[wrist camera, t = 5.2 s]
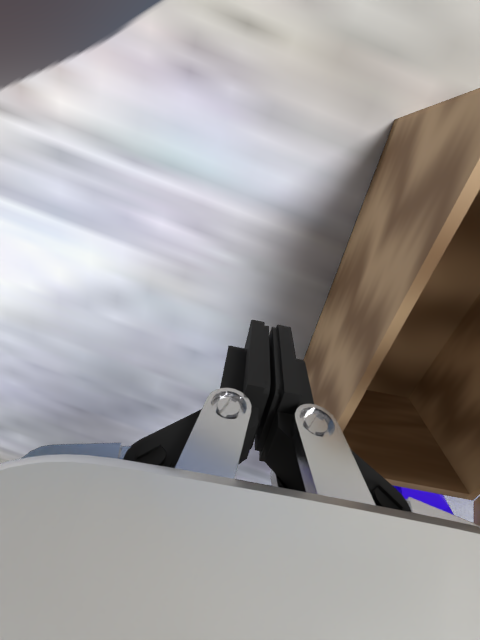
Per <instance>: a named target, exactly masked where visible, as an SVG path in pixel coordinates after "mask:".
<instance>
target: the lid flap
mask: <svg viewBox="0 0 480 640" xmlns="http://www.w3.org/2000/svg"><path fill="white" fill-rule="evenodd" d="M474 524H476V525H478V526H480V497H479V498H477V499H476V500H475V501H474Z"/></svg>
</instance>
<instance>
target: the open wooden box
mask: <svg viewBox="0 0 480 640" xmlns="http://www.w3.org/2000/svg"><path fill="white" fill-rule="evenodd" d="M304 361H305V364H306V368H307V373H308V378H309V382H310V387H311V391H312V396H313V401H314V405H318V406H320V407H323V408H324V409H326V410H327V411H329V412H330V413H331V414H332V415H333V416H334V417H335V419H336V420H337V422H338V424H339V426H340V428H341V430H342V432H343V435H344V437H345V439H346V441H347V443H348V445H349V448H350V449H351V450H352V451H353V452H354V453H356V454H357V455H358V456H359V457H360V458H361V459H363V460H364V461H365V462H366V463H367V464H368V465H369V466H371V467H372V468H373V469H374V470H375V471H376V472H377V473H379V474H380V475H381V476H382V477H383V478H384V479H386V480H387V481H388V482H389V483H390V484H391V485H393V486H399V487H404V488H409V489H415V490H420V491H426V492H431V493H436V494H442V495H447V496H452V497H458V498H463V499H469V500H474V499H475V498H476V497H477V496H478V495H479V494H480V88H478V89H476V90H473V91H470V92H468V93H465V94H462V95H460V96H457V97H454V98H452V99H449V100H446V101H443V102H441V103H438V104H435V105H433V106H430V107H427V108H425V109H422V110H419V111H417V112H414V113H411V114H409V115H406V116H403V117H400V118H398V119H395V120H394V123H393V126H392V128H391V131H390V134H389V136H388V139H387V141H386V144H385V147H384V149H383V152H382V155H381V157H380V160H379V162H378V165H377V168H376V170H375V173H374V176H373V178H372V181H371V184H370V186H369V189H368V191H367V194H366V197H365V199H364V202H363V205H362V207H361V210H360V213H359V215H358V218H357V220H356V223H355V226H354V228H353V231H352V234H351V236H350V239H349V241H348V244H347V247H346V249H345V252H344V255H343V257H342V260H341V263H340V265H339V268H338V270H337V273H336V276H335V278H334V281H333V284H332V286H331V289H330V291H329V294H328V297H327V299H326V302H325V305H324V307H323V310H322V313H321V315H320V318H319V320H318V323H317V326H316V328H315V331H314V334H313V336H312V339H311V342H310V344H309V347H308V349H307V352H306V355H305V357H304Z"/></svg>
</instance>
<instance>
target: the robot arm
mask: <svg viewBox="0 0 480 640" xmlns="http://www.w3.org/2000/svg"><path fill="white" fill-rule="evenodd" d="M254 439H255V450H257V451H260V458H259V461H264V462H266V464H267V465H268V466H269V467H270V468H271V469H272V470H271V484H272V486H270V485H264V484H259V483H253V482H248V481H243V480H237V479H234V478H235V474H236V470H237V466H238V464H240V463H241V462H242V461H244V460H245V459H247V456H248V453H249V450H250V449H251V448H252V445H253V442H254ZM0 640H480V526H478V525H476V524H474V523H472V522H470V521H467V520H465V519H462V518H460V517H457V516H455V515H453V514H450V513H448V512H445V511H443V510H440V509H438V508H435V507H433V506H431V505H428V504H426V503H423V502H421V501H418V500H416V499H413V498H411V497H409V498H408V499H407V500H406V499H405V498H404V497H403V495H402V494H401V493H400V492H399V491H398V490H397V489H396V488H395V487H394V486H392V485H391V484H390V483H389V482H388V481H387V480H386V479H384V478H383V477H382V476H381V475H380V474H379V473H377V472H376V471H375V470H374V469H373V468H372V467H371V466H369V465H368V464H367V463H366V462H365V461H364V460H363V459H361V458H360V457H359V456H358V455H357V454H356V453H354V452H353V451H352V450H351V449H350V448H349V445H348V443H347V441H346V439H345V437H344V435H343V432H342V430H341V428H340V426H339V424H338V422H337V420H336V419H335V417H334V416H333V415H332V414H331V413H330V412H329V411H327V410H326V409H324V408H323V407H320V406H318V405H314V401H313V396H312V391H311V387H310V382H309V378H308V373H307V368H306V364H305V361H304V360H299V359H296V355H295V350H294V344H293V338H292V332H291V328H290V327H286V326H281V325H277V327H276V328H274V327H272V329H271V332H270V335H269V326H264V322H261V321H256V320H251V324H250V328H249V332H248V336H247V340H246V345H245V349H244V348H239V347H234V346H229V347H228V352H227V357H226V362H225V367H224V372H223V377H222V382H221V387H220V389H217V390H215V391H213V392H212V393H210V395H209V396H208V397H207V400H206V402H205V404H204V406H203V408H202V409H201V410H199V411H197V412H195V413H193V414H191V415H189V416H187V417H185V418H183V419H181V420H179V421H177V422H175V423H173V424H171V425H169V426H167V427H165V428H163V429H161V430H159V431H157V432H155V433H153V434H151V435H149V436H147V437H145V438H142V439H140V440H139V441H137V442H136V443H134V444H133V445H132V446H121V443H92V444H57V445H47V446H41V447H39V448H37V449H35V450H32V451H30V452H29V453H28V454H26V455H25V456H24V457H22V458H21V459H16V460H11V461H7V462H3V463H0Z"/></svg>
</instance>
